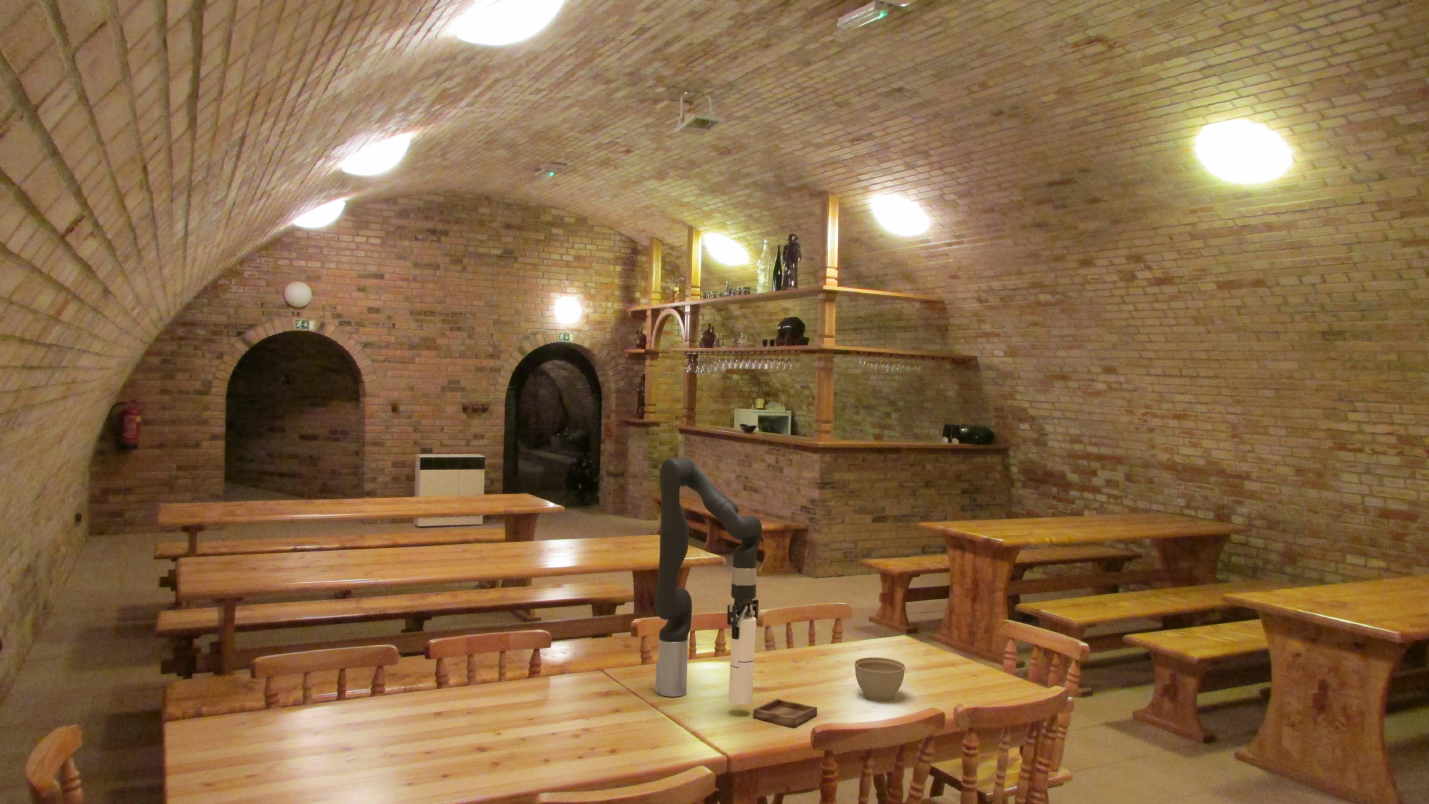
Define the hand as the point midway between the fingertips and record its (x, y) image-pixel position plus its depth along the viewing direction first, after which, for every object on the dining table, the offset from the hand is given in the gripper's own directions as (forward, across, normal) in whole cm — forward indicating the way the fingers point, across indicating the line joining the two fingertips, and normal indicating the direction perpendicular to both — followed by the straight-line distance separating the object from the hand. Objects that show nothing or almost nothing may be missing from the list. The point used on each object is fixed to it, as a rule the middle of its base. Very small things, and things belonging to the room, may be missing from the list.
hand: (742, 636), depth 292 cm
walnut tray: (+23, -6, +12) cm, 27 cm away
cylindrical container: (+20, 0, 0) cm, 20 cm away
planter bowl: (+23, -42, +26) cm, 55 cm away
